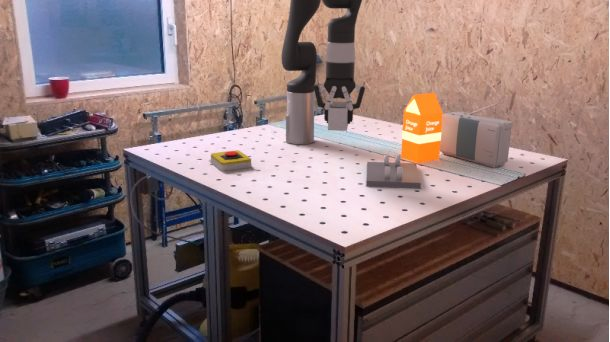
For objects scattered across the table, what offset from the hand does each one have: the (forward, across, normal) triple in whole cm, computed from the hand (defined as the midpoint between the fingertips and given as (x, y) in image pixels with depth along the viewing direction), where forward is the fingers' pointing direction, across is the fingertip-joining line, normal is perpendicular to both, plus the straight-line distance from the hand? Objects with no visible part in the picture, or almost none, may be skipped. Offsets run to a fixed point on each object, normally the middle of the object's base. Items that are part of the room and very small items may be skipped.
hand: (338, 122), depth 151 cm
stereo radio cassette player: (+15, +40, +20) cm, 47 cm away
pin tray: (+14, +15, -1) cm, 21 cm away
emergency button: (+15, -32, +4) cm, 35 cm away
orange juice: (+15, +24, +19) cm, 34 cm away
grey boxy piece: (+1, 0, 0) cm, 1 cm away
